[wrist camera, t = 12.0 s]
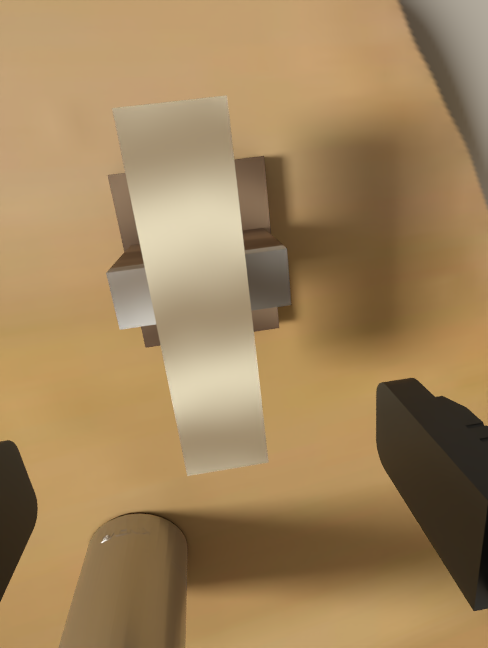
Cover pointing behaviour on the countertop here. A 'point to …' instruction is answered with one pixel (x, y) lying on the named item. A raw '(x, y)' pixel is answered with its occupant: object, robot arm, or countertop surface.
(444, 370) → the countertop surface
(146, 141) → the pale gold metallic bar
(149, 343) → the balance stand
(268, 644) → the countertop surface
